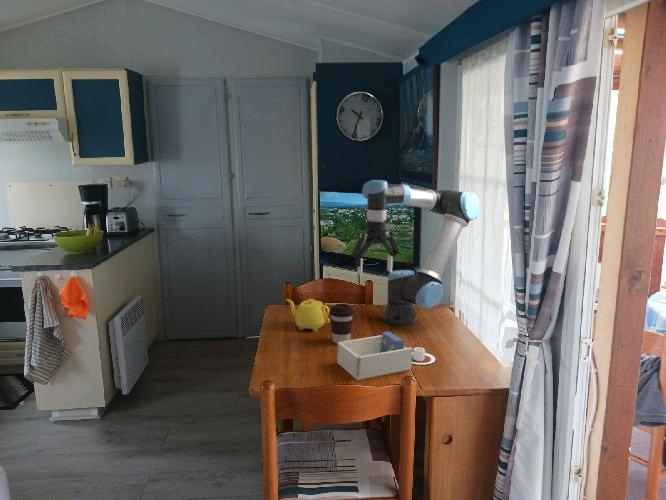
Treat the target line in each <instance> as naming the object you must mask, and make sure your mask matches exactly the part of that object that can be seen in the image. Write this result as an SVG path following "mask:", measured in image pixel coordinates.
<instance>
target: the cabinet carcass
mask: <svg viewBox="0 0 666 500" xmlns="http://www.w3.org/2000/svg"><path fill="white" fill-rule="evenodd" d="M336 344H337V347H336V348H337V349H336V350H337V351H336V353H337V356H336V357H337V358H336V359H337V360H336V362H337V364H338V365H339V366H341V368H343V369H344V370H345V371H346V372H347V373H349V375H351V376H352V377H353V378H354V379H355V380H357V381H360V380H365V379H369V378H370V379H371V378H374V377H379V376H384V375H389V374H394V373H399V372H406V371H410V370H412V369H413V368H412V364H413V363H412V362H413V355H412V352H413V348H412V347H407V346H403V349H400V350H394V351H393V350H392V349H389V351H388V352H383V353H382V335H375V336H369V337H368V336H367V337H362V338H355V339H350V340H349V341H343V342H338V343H336Z"/></svg>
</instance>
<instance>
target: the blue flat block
mask: <svg viewBox="0 0 666 500" xmlns="http://www.w3.org/2000/svg"><path fill="white" fill-rule="evenodd" d="M381 334H382V353H383V352H388V351H389V349H392V350H393V351H394V350H400V349H403V347H404V341H405V340H404V339H402V338H400V337H399V336H397V335H396V334H394V333H392V332H391V331H384V332H383V331H382V332H381Z"/></svg>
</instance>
